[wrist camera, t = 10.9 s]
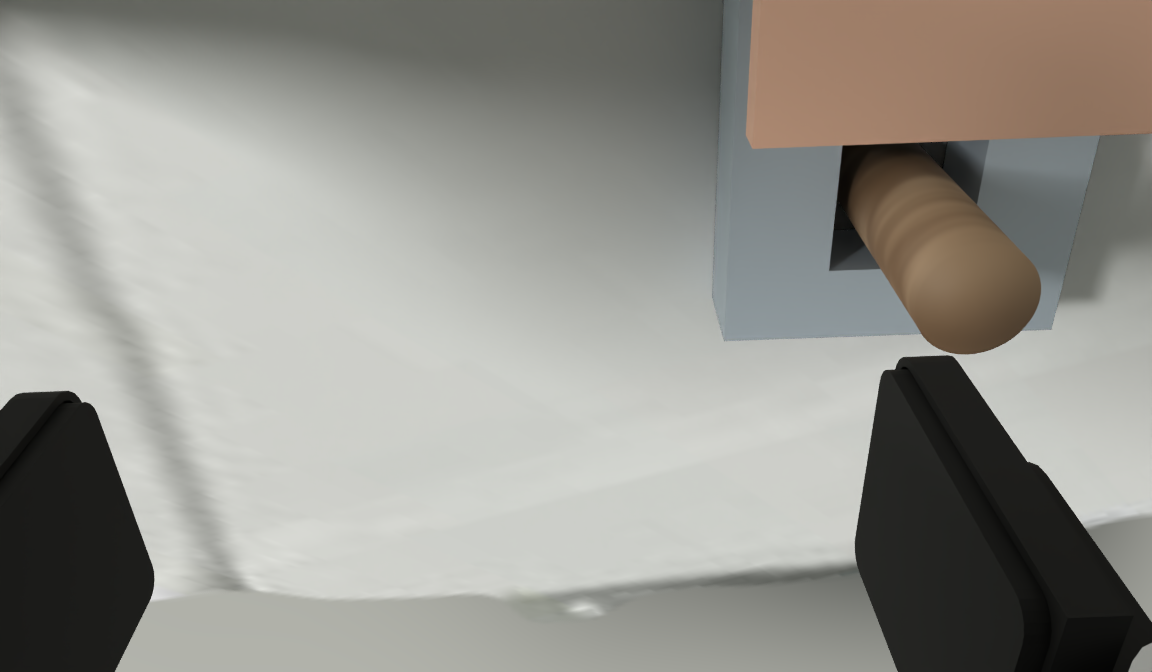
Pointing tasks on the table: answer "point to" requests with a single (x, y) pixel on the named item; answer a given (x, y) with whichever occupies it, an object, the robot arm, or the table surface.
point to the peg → (937, 248)
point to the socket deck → (837, 263)
